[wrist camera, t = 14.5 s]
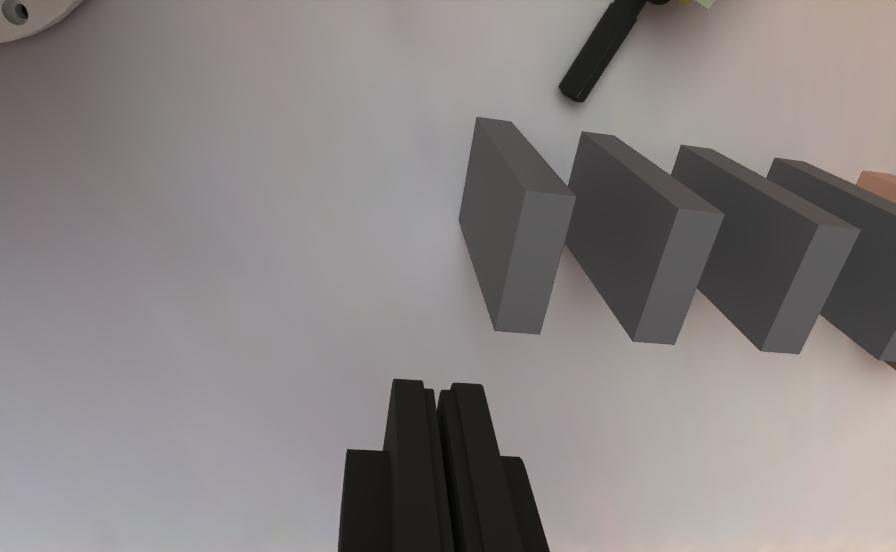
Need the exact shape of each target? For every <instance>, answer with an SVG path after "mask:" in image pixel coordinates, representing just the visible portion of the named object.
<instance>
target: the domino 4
mask: <svg viewBox="0 0 896 552" xmlns="http://www.w3.org/2000/svg"><path fill="white" fill-rule="evenodd" d="M766 179H768V180H770V181H772V182H774V183H776V184H777V185H779V186H781V187H783V188H785V189H787V190H788V191H790V192H792V193H794V194H796V195H798V196H800V197H801V198H803V199H805V200H807V201H809V202H811V203H812V204H814V205H816V206H818V207H820V208H822V209H824V210H825V211H827V212H829V213H831V214H833V215H835V216H837V217H838V218H840V219H842V220H844V221H846V222H848V223H849V224H851V225H853V226H855V227H857V228H859V229H861V231H860V233H859V235H858V237H857V239H856V241H855V243H854V245H853V247H852V249H851V251H850V253H849V255H848V257H847V259H846V261H845V263H844V265H843V267H842V269H841V271H840V273H839V275H838V277H837V279H836V281H835V283H834V285H833V287H832V289H831V291H830V293H829V295H828V297H827V299H826V301H825V303H824V305H823V307H822V309H821V311H820V313H819V314H820V315H821V316H823V317H824V318H825V319H826V320H828V321H829V322H830V323H832V324H833V325H834V326H835V327H837V328H838V329H839V330H841V331H842V332H843V333H844V334H846V335H847V336H848V337H849V338H851V339H852V340H853V341H855V342H856V343H857V344H858V345H860V346H861V347H862V348H864V349H865V350H866V351H867V352H869V353H870V354H871V355H872V356H874V357H875V358H876V359H878V360H882V361H895V362H896V203H894V202H892V201H890V200H887V199H885V198H883V197H881V196H879V195H876V194H874V193H872V192H870V191H868V190H865V189H863V188H861V187H859V186H857V185H854V184H852V183H850V182H848V181H846V180H843V179H841V178H839V177H837V176H834V175H832V174H830V173H828V172H826V171H823V170H821V169H819V168H817V167H815V166H812V165H810V164H808V163H806V162H804V161H796V160H789V159H782V158H775V159H774V161H773V163H772V166H771V168H770V171H769V173H768V176H767V178H766Z"/></svg>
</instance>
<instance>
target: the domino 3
mask: <svg viewBox="0 0 896 552" xmlns="http://www.w3.org/2000/svg"><path fill="white" fill-rule="evenodd" d="M671 176H672V177H673V178H675V179H676V180H678V181H679V182H680V183H682V184H683V185H685V186H686V187H687V188H689V189H690V190H692V191H693V192H695V193H696V194H697V195H699V196H700V197H702V198H703V199H704V200H706V201H707V202H709V203H710V204H711V205H713V206H714V207H716V208H717V209H719V210H720V211H721V212H723V213H724V214H725V215H724V218H723V220H722V223H721V225H720V228H719V231H718V233H717V236H716V238H715V241H714V244H713V246H712V249H711V251H710V254H709V257H708V259H707V262H706V264H705V267H704V270H703V272H702V275H701V277H700V280H699V283H698V285H697V288H698V289H699V290H700V291H701V292H702V293H703V294H704V295H705V296H706V297H707V298H708V299H709V300H710V301H711V302H712V303H713V304H714V305H715V306H716V307H717V308H718V309H719V310H720V311H721V312H722V313H723V314H724V315H725V316H726V317H727V318H728V319H729V320H730V321H731V322H732V323H733V324H734V325H735V326H736V327H737V328H738V329H739V330H740V331H741V332H742V333H743V334H744V335H745V336H746V337H747V338H748V339H749V340H750V341H751V342H752V343H753V344H754V345H755V346H756V347H757V348H758V349H759V350H760V351H764V352H777V353H791V354H799V353H800V351H801V349H802V347H803V345H804V343H805V341H806V339H807V337H808V335H809V333H810V331H811V329H812V327H813V325H814V323H815V321H816V319H817V317H818V315H819V313H820V311H821V309H822V307H823V305H824V303H825V301H826V299H827V297H828V295H829V293H830V291H831V289H832V287H833V285H834V283H835V281H836V279H837V277H838V275H839V273H840V271H841V269H842V267H843V265H844V263H845V261H846V259H847V257H848V255H849V253H850V251H851V249H852V247H853V245H854V243H855V241H856V239H857V237H858V235H859V233H860V231H861V229H859V228H857V227H855V226H853V225H851V224H849V223H848V222H846V221H844V220H842V219H840V218H838V217H837V216H835V215H833V214H831V213H829V212H827V211H825V210H824V209H822V208H820V207H818V206H816V205H814V204H812V203H811V202H809V201H807V200H805V199H803V198H801V197H800V196H798V195H796V194H794V193H792V192H790V191H788V190H787V189H785V188H783V187H781V186H779V185H777V184H776V183H774V182H772V181H770V180H768V179H766V178H764V177H763V176H761V175H759V174H757V173H755V172H753V171H752V170H750V169H748V168H746V167H744V166H742V165H740V164H739V163H737V162H735V161H733V160H731V159H729V158H727V157H726V156H724V155H722V154H720V153H718V152H716V151H715V150H713V149H708V148H701V147H693V146H686V145H681V147H680V150H679V153H678V156H677V159H676V162H675V165H674V168H673V171H672V174H671Z"/></svg>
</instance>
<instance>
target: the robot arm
mask: <svg viewBox="0 0 896 552" xmlns="http://www.w3.org/2000/svg"><path fill="white" fill-rule="evenodd" d="M82 2H83V0H0V43H4V42H10V41H13V40H17V39H21V38H24V37H28V36H32V35H35V34H37V33H39V32H41V31H43V30H45V29H47V28H49V27H50V26H52V25H54V24H56V23H58V22H60V21H61V20H63V19H64V18H65V17H66V16H67V15H68V14H69V13H70V12H72V11H73V10H74V9H75V8H76V7H77V6H78V5H79V4H80V3H82ZM22 5H24V6H25V7H26V9H27V12H28V14H29V15H28V17H26V16H25V15H24V14H23V13H22V10H21V7H22ZM338 552H550V551H549V547H548V544H547V541H546V537H545V534H544V530H543V527H542V523H541V520H540V517H539V513H538V510H537V506H536V503H535V499H534V496H533V493H532V489H531V486H530V482H529V479H528V475H527V472H526V469H525V466H524V463H523V461H522V459H521V458H520V457H510V456H500V453H499V449H498V445H497V440H496V436H495V432H494V428H493V424H492V420H491V416H490V412H489V408H488V404H487V400H486V396H485V392H484V388H483V386H482V385H481V384H468V383H452V385H451V388H450V390H441V392H440V396H439V401H438V407H437V411H436V403H435V396H434V390H433V389H424V385H423V381H421V380H405V379H393V383H392V389H391V396H390V403H389V410H388V418H387V425H386V432H385V439H384V446H383V451H375V450H353V449H347V453H346V462H345V472H344V481H343V492H342V503H341V515H340V528H339V541H338Z"/></svg>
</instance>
